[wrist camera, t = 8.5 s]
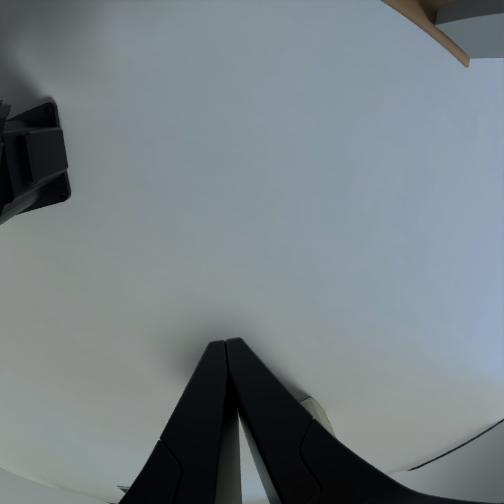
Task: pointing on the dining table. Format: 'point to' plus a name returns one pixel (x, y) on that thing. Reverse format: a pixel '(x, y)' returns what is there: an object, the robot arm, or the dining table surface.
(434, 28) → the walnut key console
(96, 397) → the dining table surface
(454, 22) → the key
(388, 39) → the dining table surface
